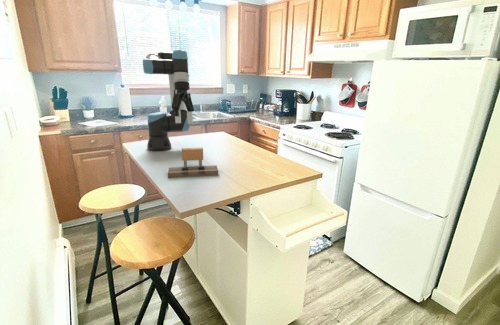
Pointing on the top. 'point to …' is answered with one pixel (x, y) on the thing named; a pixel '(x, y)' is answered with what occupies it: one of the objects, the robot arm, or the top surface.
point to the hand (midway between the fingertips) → (184, 123)
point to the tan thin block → (192, 155)
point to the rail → (192, 171)
